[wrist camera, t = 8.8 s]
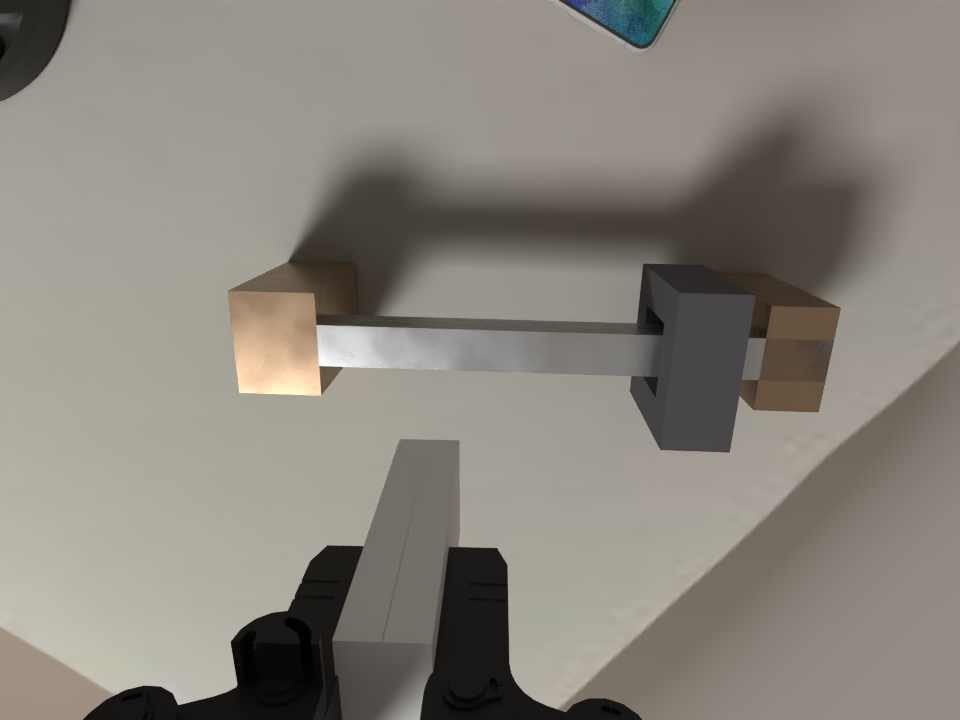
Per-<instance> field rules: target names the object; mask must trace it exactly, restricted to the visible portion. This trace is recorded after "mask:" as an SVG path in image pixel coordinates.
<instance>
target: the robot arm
mask: <svg viewBox="0 0 960 720" xmlns="http://www.w3.org/2000/svg"><path fill="white" fill-rule="evenodd" d="M67 2H68V0H0V101H3V100H5V99H7V98H9V97H11V96H13V95H15V94H16V93H18V92H19V91H21V90H22V89H23V88H25V87H26V86H27V85H28V84H29V83H30V82H31V81H32V80H33V79H35V78H36V76H37V75H38V74H39V73H40V72H41V71H42V69H43V68H44V66H45V65H46V64H47V62H48V60H49V59H50V57H51V55H52V53H53V51H54V49H55V47H56V45H57V43H58V40H59V37H60V35H61V32H62V28H63V24H64V20H65V15H66V9H67ZM459 534H460V481H459V441H455V440H409V439H400V440H399V443H398V446H397V449H396V452H395V455H394V458H393V461H392V464H391V467H390V470H389V473H388V476H387V479H386V482H385V485H384V488H383V491H382V494H381V497H380V500H379V503H378V506H377V509H376V512H375V515H374V518H373V521H372V524H371V527H370V530H369V532H368V535H367V538H366V541H365V544H364V546H329V545H327V546H326V547H325V548H324V549H323V550H322V551H321V552H320V553H319V554H318V555H317V556H316V557H314V558H313V559H312V560H311V561H310V563H309V565H308V568H307V570H306V572H305V574H304V576H303V579H302V583H301V584H300V585H299V588H298V590H297V592H296V594H295V599H293V601H292V603H291V605H290V607H289V610H288V611H284V612H275V613H271V614H268V615H265V616H263V617H260V618H257V619H255V620H253V621H252V622H251V623H249V624H248V625H246V626H245V627H243V628H242V629H241V630H240V631H239V632H238V633H237V635H236V636H235V637H234V639H233V640H232V641H231V647H232V653H233V659H234V665H235V671H236V677H237V683H238V685H237V687H236V688H234V689H232V690H230V691H228V692H226V693H223V694H220V695H217V696H214V697H210V698H206V699H202V700H198V701H194V702H190V703H186V704H182V705H178V704H177V702H176V700H175V698H174V696H173V693H171V692H169V691H167V690H166V689H164V688H162V687H157V686H141V687H137V688H133V689H128V690H125V691H123V692H121V693H119V694H117V695H115V696H113V697H111V698H109V699H107V700H105V701H104V702H103V703H101V704H100V705H99V706H98V707H97V708H95V709H94V710H93V711H91V712H90V713H89V714H88V715H87V716H86V717H85V718H84V719H83V720H642V719H641V718H640V716H639V715H638V714H636V713H635V712H633V711H632V710H631V709H629V708H628V707H626V706H625V705H624V704H621V703H618V702H615V701H612V700H609V699H586V700H584V701H581V702H578V703H576V704H574V705H573V706H572V707H571V708H570V709H569V710H568V711H567V712H563V711H560V710H557V709H554V708H551V707H549V706H546V705H544V704H542V703H539V702H537V701H535V700H533V699H532V698H531V697H529V696H528V695H527V694H525V693H524V692H523V691H522V690H521V689H520V687H519V686H518V685H517V684H516V682H515V680H514V678H513V676H512V674H511V670H510V665H509V627H508V573H507V564H506V562H505V560H504V559H503V557H502V556H501V554H500V552H499V551H498V549H497V548H468V547H458V544H459Z"/></svg>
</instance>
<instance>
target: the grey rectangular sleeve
mask: <svg viewBox="0 0 960 720" xmlns="http://www.w3.org/2000/svg"><path fill="white" fill-rule="evenodd" d="M755 297H756V295H755V294H753V293H751V292H749V291H748V290H746V289H744V288H742V287H741V286H739V285H737V284H735V283H733V282H732V281H730V280H728V279H726V278H725V277H723V276H721V275H719V274H717V273H716V272H714V271H712V270H710V269H709V268H707V267H705V266H703V265H675V264H643V272H642V281H641V291H640V301H639V310H638V320H637V323H638V324H664V332H663V340H662V348H661V357H660V365H659V374H658V377H647V376H632V377H631V387H630V392H631V394H632V396H633V398H634V400H635V402H636V404H637V406H638V408H639V410H640V412H641V413H642V415H643V417H644V419H645V421H646V423H647V425H648V427H649V429H650V431H651V433H652V435H653V437H654V439H655V440H656V442H657V444H658V446H659V448H660V450H678V451H706V452H730V447H731V441H732V435H733V429H734V423H735V417H736V411H737V405H738V399H739V393H740V387H741V381H742V375H743V369H744V363H745V357H746V351H747V345H748V339H749V333H750V327H751V321H752V315H753V309H754V303H755Z"/></svg>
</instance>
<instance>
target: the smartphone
mask: <svg viewBox="0 0 960 720" xmlns="http://www.w3.org/2000/svg"><path fill="white" fill-rule="evenodd" d="M547 1H549V2H552V3H554V4H555V5H557V6H559V7H560V8H562V9H563V10H565V11H567V12H568V13H569V14H570V15H572V16H573V17H575V18H577V19H578V20H580V21H582V22H583V23H585V24H586V25H588V26H590V27H591V28H593V29H595V30H596V31H598V32H599V33H603V34H604V35H606V36H607V37H609V38H611V39H612V40H614V41H616V42H617V43H619V44H620V45H622V46H624V47H625V48H627V49H629V50H630V51H632V52H634V53H638V54H642V53H646V52H648V51H649V50H650V49H652V47H653V46H654V45H655V43H656V42H657V40H658V38H659V36H660V35H661V33H662V31H663V29H664V28H665V26H666V24H667V22H668V21H669V19H670V17H671V15H672V14H673V12H674V10H675V8H676V6H677V5H678V3H679V1H680V0H547Z"/></svg>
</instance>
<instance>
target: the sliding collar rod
mask: <svg viewBox="0 0 960 720" xmlns="http://www.w3.org/2000/svg"><path fill="white" fill-rule="evenodd" d="M717 274H719V275H721V276H723V277H725V278H726V279H728V280H730V281H732V282H733V283H735V284H737V285H739V286H741V287H742V288H744V289H746V290H748V291H749V292H751V293H753V294H755V295H756V297H755V303H754V309H753V315H752V321H751V327H750V333H749V339H748V345H747V351H746V357H745V363H744V369H743V375H742V381H741V387H740V393H739V396H740V397H741V398H742V399H743V400H744V401H745V402H746V403H747V404H748V405H749V406H750V407H751V408H752V409H753V410H767V411H797V412H819V408H820V403H821V399H822V394H823V389H824V385H825V380H826V375H827V370H828V366H829V361H830V356H831V352H832V347H833V342H834V338H835V333H836V328H837V323H838V319H839V314H840V309H841V308H840V307H837V306H835V305H833V304H831V303H829V302H827V301H824V300H822V299H820V298H818V297H816V296H813V295H811V294H809V293H807V292H805V291H803V290H800V289H798V288H796V287H794V286H792V285H789V284H787V283H785V282H783V281H781V280H778V279H776V278H774V277H772V276H770V275H768V274H729V273H717ZM228 298H229V307H230V316H231V324H232V333H233V342H234V350H235V359H236V368H237V376H238V385H239V393H264V394H294V395H322V394H323V393H324V391H325V390H326V389H327V387H328V386H329V385H330V384H331V382H332V381H333V380H334V378H335V377H336V376H337V375H338V373H339V372H340V371H341V369H342V368H343V367H366V368H397V369H429V370H460V371H491V372H522V373H553V374H584V375H615V376H647V377H658V374H659V365H660V357H661V348H662V340H663V332H664V324H638V323H603V322H569V321H535V320H500V319H466V318H432V317H397V316H363V315H358V301H357V280H356V264H347V263H308V262H286V263H284V264H282V265H280V266H278V267H276V268H274V269H272V270H270V271H268V272H266V273H264V274H262V275H260V276H257V277H255V278H253V279H251V280H249V281H247V282H245V283H243V284H241V285H239V286H237V287H235V288H233V289H231V290H229V291H228Z"/></svg>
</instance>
